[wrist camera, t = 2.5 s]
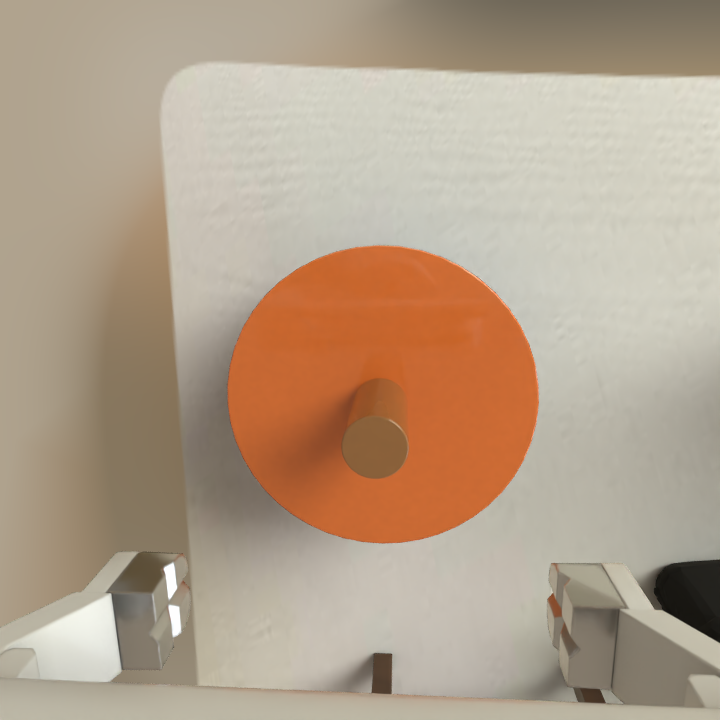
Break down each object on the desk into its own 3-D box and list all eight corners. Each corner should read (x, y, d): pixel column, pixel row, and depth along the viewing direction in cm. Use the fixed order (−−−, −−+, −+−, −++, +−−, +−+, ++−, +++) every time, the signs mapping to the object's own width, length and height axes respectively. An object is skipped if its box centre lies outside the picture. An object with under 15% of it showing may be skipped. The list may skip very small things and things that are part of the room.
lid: (244, 528, 29) (202, 610, 23) (223, 247, 25) (168, 256, 19) (526, 533, 28) (560, 620, 22) (540, 241, 24) (586, 248, 18)
